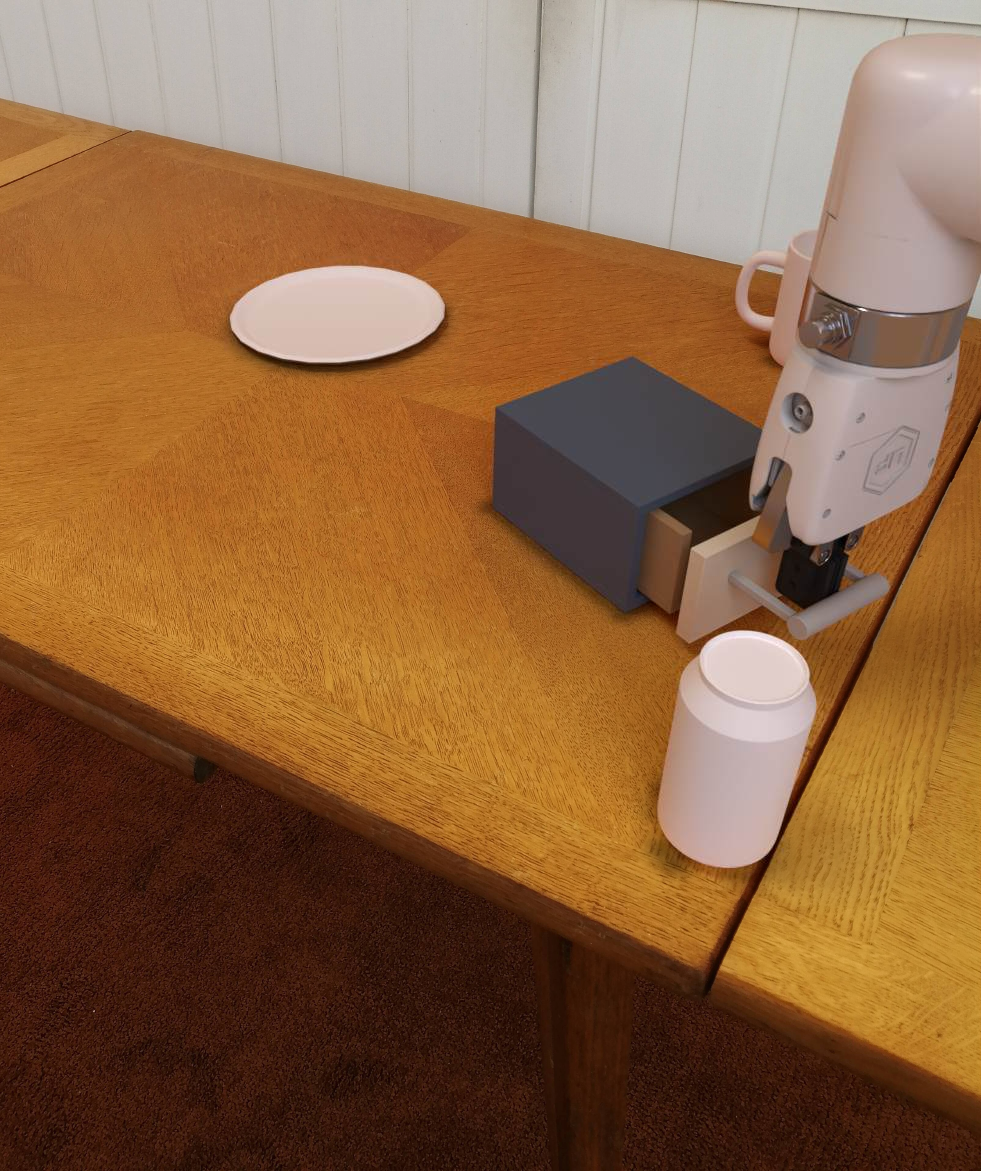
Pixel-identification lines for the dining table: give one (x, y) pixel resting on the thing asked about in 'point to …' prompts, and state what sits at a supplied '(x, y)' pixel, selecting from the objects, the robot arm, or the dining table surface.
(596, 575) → the cabinet
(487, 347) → the dining table surface
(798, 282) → the cup
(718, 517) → the drawer
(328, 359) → the plate
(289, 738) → the dining table surface
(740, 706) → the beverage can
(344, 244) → the dining table surface
